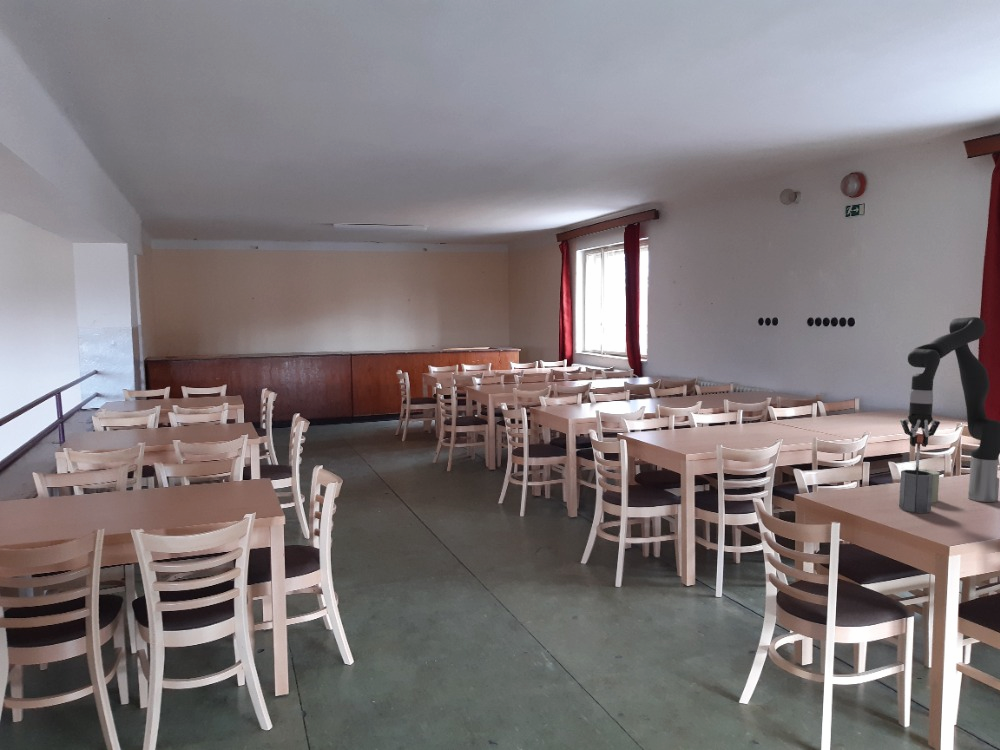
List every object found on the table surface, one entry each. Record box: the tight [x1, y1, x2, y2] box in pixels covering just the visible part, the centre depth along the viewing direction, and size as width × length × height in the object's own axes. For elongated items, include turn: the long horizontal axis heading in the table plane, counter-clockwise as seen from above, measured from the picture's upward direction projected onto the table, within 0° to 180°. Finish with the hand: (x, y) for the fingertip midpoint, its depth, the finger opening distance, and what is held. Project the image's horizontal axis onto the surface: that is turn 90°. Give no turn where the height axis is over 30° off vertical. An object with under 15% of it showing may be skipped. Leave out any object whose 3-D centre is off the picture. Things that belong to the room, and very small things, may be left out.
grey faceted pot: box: [898, 469, 933, 514], centre depth 279 cm, size 10×12×14 cm
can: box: [919, 468, 940, 503], centre depth 293 cm, size 9×9×12 cm
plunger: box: [915, 433, 924, 475], centre depth 276 cm, size 7×7×20 cm
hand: (918, 446), depth 276 cm, fingers closed on plunger, 3 cm apart
